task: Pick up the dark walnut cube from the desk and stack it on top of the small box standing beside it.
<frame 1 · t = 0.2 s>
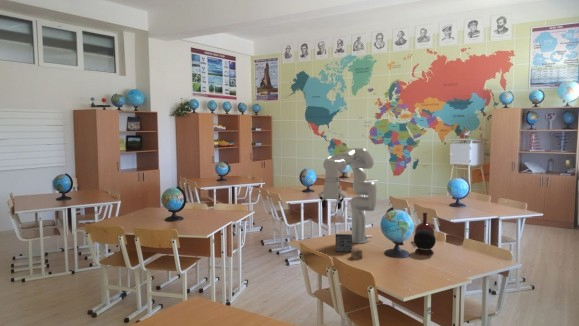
hand: (331, 208, 251), 31 cm above the table, tool pointing down, fingers open, 9 cm apart
black round ball: (424, 253, 263), on the table
round-bottom flask: (424, 241, 290), on the table
small box: (343, 251, 269), on the table
walnut cube: (356, 257, 254), on the table
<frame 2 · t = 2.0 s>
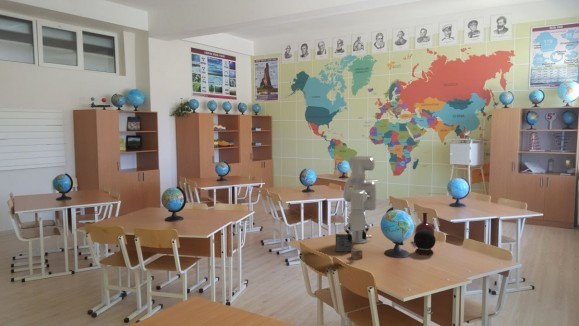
hand: (356, 239, 252), 11 cm above the table, tool pointing down, fingers open, 9 cm apart
nothing on the table moved.
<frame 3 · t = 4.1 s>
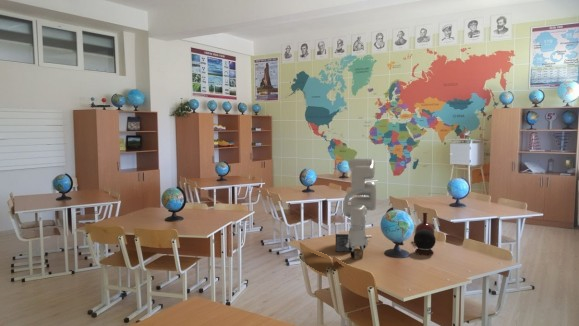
hand: (356, 256, 254), 1 cm above the table, tool pointing down, fingers closed on walnut cube, 5 cm apart
walnut cube: (356, 257, 254), on the table, touching gripper
everything else where it was.
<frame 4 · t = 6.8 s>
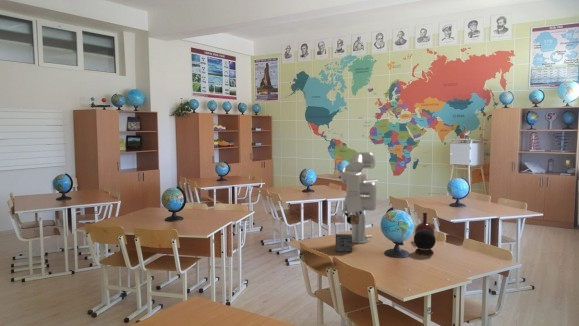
hand: (352, 222, 257), 21 cm above the table, tool pointing down, fingers closed on walnut cube, 5 cm apart
walnut cube: (353, 223, 257), point 20 cm above the table, touching gripper
everything else where it was.
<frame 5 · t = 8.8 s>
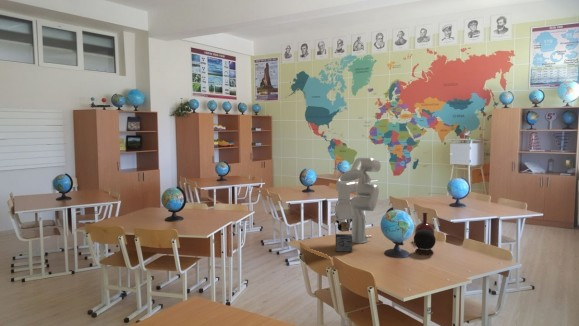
hand: (343, 229, 267), 14 cm above the table, tool pointing down, fingers closed on walnut cube, 5 cm apart
walnut cube: (343, 230, 267), point 13 cm above the table, touching gripper
everything else where it was.
when the fingers open (12 cm above the table, at t = 10.0 s): walnut cube stays where it is, resting on small box.
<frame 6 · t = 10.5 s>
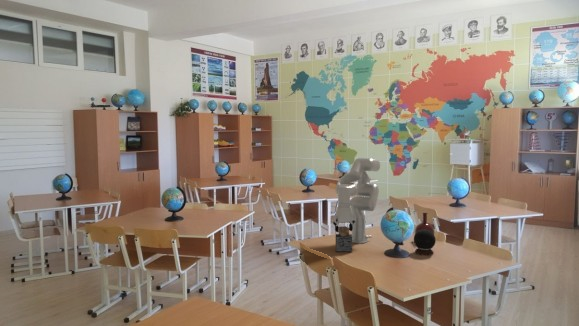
hand: (343, 231, 268), 13 cm above the table, tool pointing down, fingers open, 9 cm apart
small box: (343, 251, 269), on the table, touching walnut cube
walnut cube: (343, 235, 268), point 10 cm above the table, touching small box
everything else where it was.
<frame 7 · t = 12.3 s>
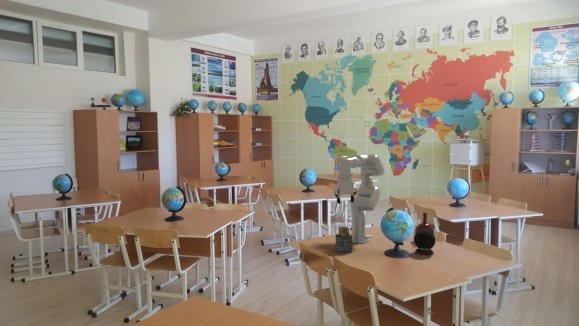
hand: (345, 202, 272), 30 cm above the table, tool pointing down, fingers open, 9 cm apart
nothing on the table moved.
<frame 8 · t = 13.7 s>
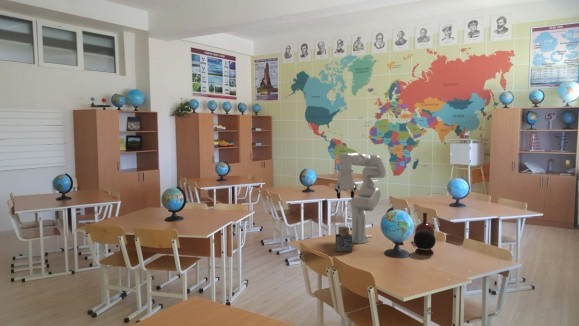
hand: (345, 198, 273), 33 cm above the table, tool pointing down, fingers open, 9 cm apart
nothing on the table moved.
at the end: walnut cube inside the target area on the small box (0.1 cm from its centre), point 10.7 cm above the small box's base; walnut cube touching small box; walnut cube tilted 0° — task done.
